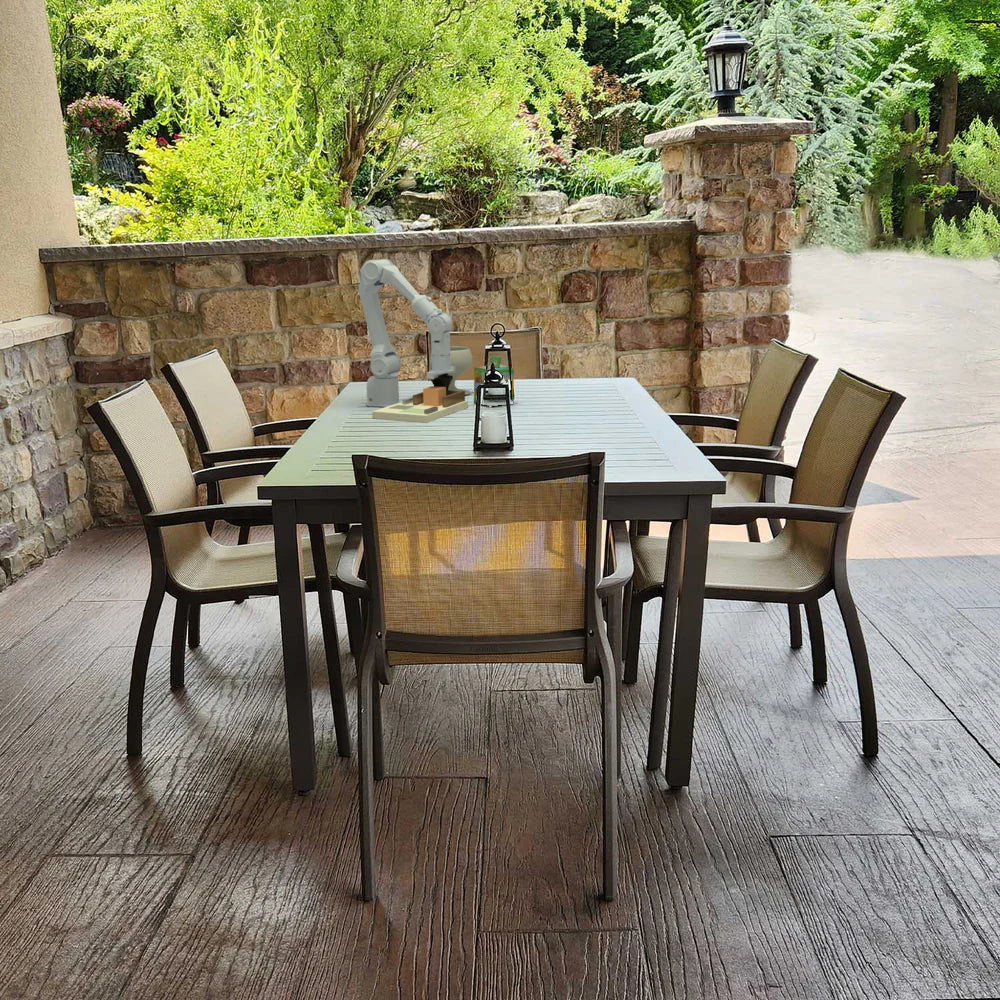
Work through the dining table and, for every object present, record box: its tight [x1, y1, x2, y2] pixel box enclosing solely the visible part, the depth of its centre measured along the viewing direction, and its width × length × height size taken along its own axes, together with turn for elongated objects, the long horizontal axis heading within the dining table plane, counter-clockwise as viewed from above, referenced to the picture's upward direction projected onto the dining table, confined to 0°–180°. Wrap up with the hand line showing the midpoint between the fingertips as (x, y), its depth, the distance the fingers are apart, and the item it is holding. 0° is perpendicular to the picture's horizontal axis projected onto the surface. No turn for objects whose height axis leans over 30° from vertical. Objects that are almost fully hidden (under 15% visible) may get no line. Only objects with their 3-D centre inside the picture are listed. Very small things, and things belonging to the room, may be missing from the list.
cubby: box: [412, 390, 466, 408], centre depth 303 cm, size 11×12×3 cm
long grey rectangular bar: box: [401, 396, 413, 405], centre depth 305 cm, size 3×9×1 cm, turn 155°
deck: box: [371, 400, 469, 424], centre depth 299 cm, size 18×26×2 cm
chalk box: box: [473, 355, 515, 405], centre depth 310 cm, size 9×9×15 cm
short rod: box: [424, 406, 438, 414], centre depth 288 cm, size 1×6×1 cm, turn 155°
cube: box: [422, 385, 446, 406], centre depth 300 cm, size 5×5×5 cm
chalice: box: [429, 345, 474, 396], centre depth 329 cm, size 14×14×15 cm
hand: (442, 399), depth 305 cm, fingers closed
